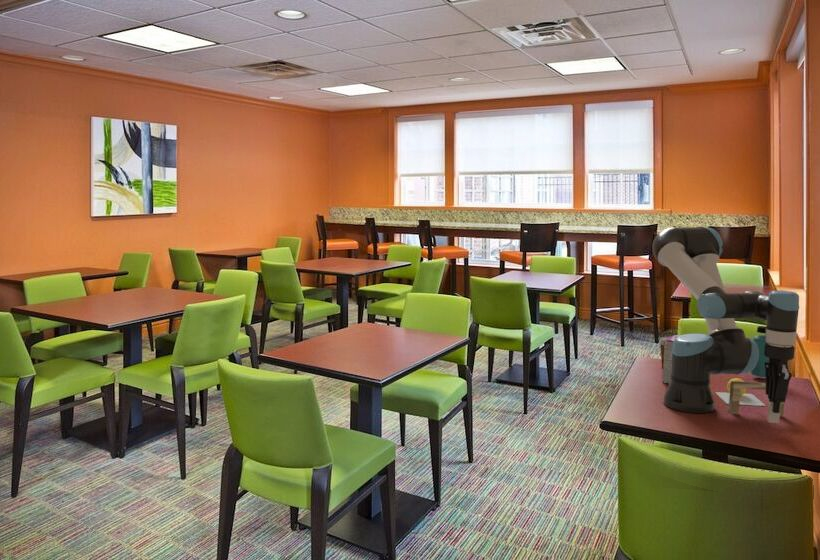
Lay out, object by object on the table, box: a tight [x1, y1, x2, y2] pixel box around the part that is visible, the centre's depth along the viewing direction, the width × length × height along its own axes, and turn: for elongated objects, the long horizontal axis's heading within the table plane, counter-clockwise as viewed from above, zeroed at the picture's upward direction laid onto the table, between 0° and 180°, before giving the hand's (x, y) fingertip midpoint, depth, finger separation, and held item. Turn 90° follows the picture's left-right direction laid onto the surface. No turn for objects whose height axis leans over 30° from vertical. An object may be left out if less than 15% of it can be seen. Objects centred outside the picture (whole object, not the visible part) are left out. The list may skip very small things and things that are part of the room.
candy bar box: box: [661, 334, 681, 385], centre depth 226 cm, size 11×5×16 cm, turn 138°
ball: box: [726, 377, 747, 395], centre depth 210 cm, size 6×6×6 cm
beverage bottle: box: [750, 325, 769, 378], centre depth 229 cm, size 6×7×20 cm
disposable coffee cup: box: [659, 336, 671, 369], centre depth 242 cm, size 10×10×12 cm
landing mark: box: [714, 391, 767, 407], centre depth 206 cm, size 12×12×1 cm
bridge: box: [728, 381, 786, 418], centre depth 192 cm, size 3×15×10 cm, turn 80°
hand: (772, 421), depth 180 cm, fingers closed
